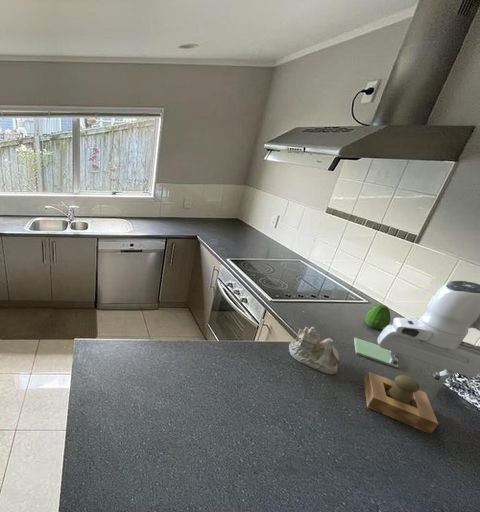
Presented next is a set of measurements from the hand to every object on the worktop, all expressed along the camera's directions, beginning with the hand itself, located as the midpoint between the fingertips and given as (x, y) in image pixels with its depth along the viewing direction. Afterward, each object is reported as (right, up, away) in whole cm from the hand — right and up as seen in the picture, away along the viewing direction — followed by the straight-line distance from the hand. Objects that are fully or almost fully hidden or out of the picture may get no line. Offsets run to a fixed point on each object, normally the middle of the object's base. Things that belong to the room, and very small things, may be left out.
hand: (413, 370), depth 85 cm
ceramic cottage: (-12, -5, +25) cm, 28 cm away
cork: (0, -14, +5) cm, 15 cm away
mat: (+16, -4, +29) cm, 33 cm away
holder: (0, -13, +5) cm, 14 cm away
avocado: (+33, +2, +45) cm, 56 cm away
